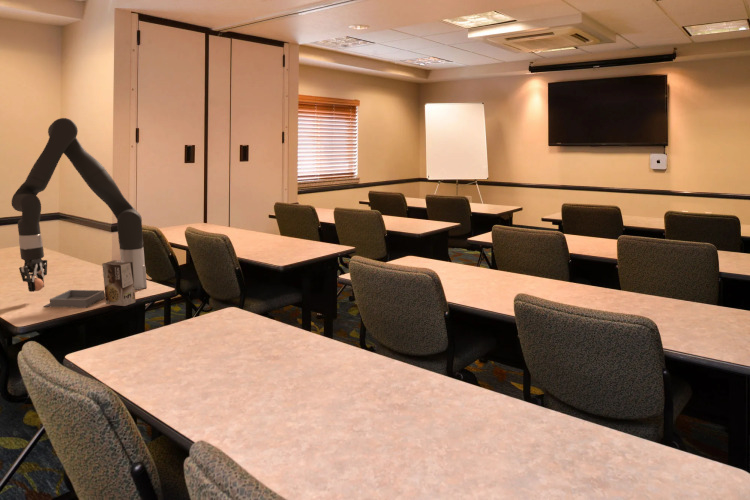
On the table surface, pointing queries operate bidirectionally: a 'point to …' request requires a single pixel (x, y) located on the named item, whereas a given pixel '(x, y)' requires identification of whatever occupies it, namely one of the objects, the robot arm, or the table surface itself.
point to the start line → (47, 305)
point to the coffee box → (119, 282)
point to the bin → (77, 298)
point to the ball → (38, 284)
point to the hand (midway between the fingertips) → (36, 289)
